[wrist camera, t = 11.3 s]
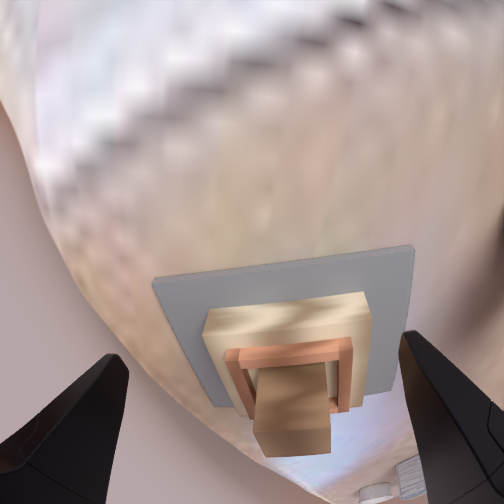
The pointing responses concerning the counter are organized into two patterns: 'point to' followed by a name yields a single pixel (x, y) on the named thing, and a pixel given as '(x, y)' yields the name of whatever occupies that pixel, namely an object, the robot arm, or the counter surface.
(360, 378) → the socket plinth
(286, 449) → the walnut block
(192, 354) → the grey base plate
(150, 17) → the counter surface
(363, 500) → the ramekin
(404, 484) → the medicine box
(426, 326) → the counter surface
